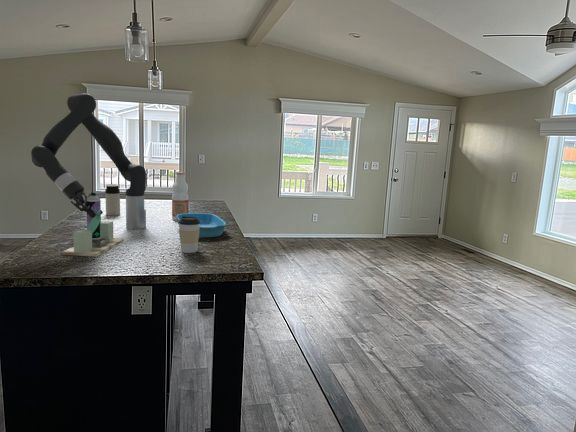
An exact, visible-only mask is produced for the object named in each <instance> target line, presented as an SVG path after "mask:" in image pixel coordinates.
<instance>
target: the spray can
mask: <svg viewBox="0 0 576 432" xmlns="http://www.w3.org/2000/svg"><path fill="white" fill-rule="evenodd" d="M90 194H91V195H90V196H89V197H88V198H87V200H86V201H87V203H88V206H89V207H90V208H91V209H92V210H93V212H94V213H95V214H96V216H95V217H94V218H91V217H90V216H89V215H88V214H87V213H86V230H87V231H92V240H98V239H101V221H102V214H101V210H102V207H101V206H102V205H101V197H99V196H98V195H97V194H96V191H91V192H90ZM90 208H89V209H90Z"/></svg>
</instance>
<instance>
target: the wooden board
mask: <svg viewBox="0 0 576 432" xmlns="http://www.w3.org/2000/svg"><path fill="white" fill-rule="evenodd" d="M123 242H125V240H124V238H117V237H116V238H114V239H112V240H110V241H109V243H108V244H107V245H105V246H103V247H101V248H93V247H92V250H91V251H89V252H87V253H81V252H74V246H72V247H70V248H68V249H65V250H63V251H62V255H63V256H64V255H65V256H67V255H68V256H81V257H95V258H97V257H98V256H100V255H103V254H104V253H106V252H108V251H109V250H111V249H113V248H114V247H117V246H119V245H120V244H121V243H123ZM107 250H108V251H107Z"/></svg>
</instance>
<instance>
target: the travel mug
mask: <svg viewBox="0 0 576 432" xmlns="http://www.w3.org/2000/svg"><path fill="white" fill-rule="evenodd" d="M119 187H120V184H114V183H112V184H111V183H109V184H105V188H106V189H105V215H107V216H111V217H115V216H120V215H121V190H120V189H119Z"/></svg>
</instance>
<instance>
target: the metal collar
mask: <svg viewBox="0 0 576 432" xmlns="http://www.w3.org/2000/svg"><path fill="white" fill-rule="evenodd" d="M108 243H109V239H107V238H101V239H98V240H92V247H93V248H101V247H103V246H105V245H107V244H108Z"/></svg>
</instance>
